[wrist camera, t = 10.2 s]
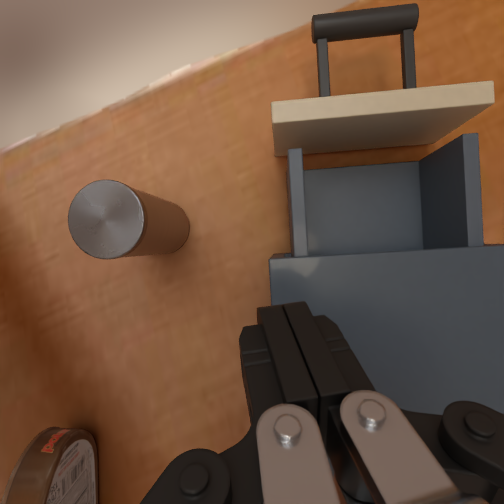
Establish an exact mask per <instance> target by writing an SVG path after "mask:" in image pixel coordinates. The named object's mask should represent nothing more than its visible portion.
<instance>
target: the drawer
mask: <svg viewBox="0 0 504 504" xmlns="http://www.w3.org/2000/svg"><path fill="white" fill-rule="evenodd" d="M418 18H419V8H418V5H417V4H416V3H413V4H405V5H396V6H388V7H379V8H370V9H362V10H353V11H345V12H336V13H327V14H319V15H313V17H312V42H313V43H314V44H315V43H317V44H316V49H317V66H318V83H319V97H317V98H307V99H296V100H286V101H276V102H271V115H272V129H273V140H274V151H275V156H276V157H277V156H287V172H286V176H287V193H288V210H289V226H290V243H291V257H298V256H316V255H333V254H350V253H367V252H384V251H401V250H419V249H436V248H453V247H470V246H484V241H483V221H482V201H481V181H480V161H479V141H478V133H471V134H462V135H461V136H459V137H458V138H456V139H454V140H453V141H451V142H449V143H448V144H446V145H444V146H443V147H441V148H439V149H438V150H436V151H434V152H433V153H431V154H430V155H428V156H426V157H425V158H423V159H421V160H420V161H412V162H400V163H387V164H374V165H362V166H349V167H336V168H324V169H311V170H303V154H313V153H325V152H337V151H349V150H361V149H373V148H385V147H397V146H410V145H422V144H433V143H435V142H437V141H438V140H440V139H441V138H443V137H444V136H446V135H447V134H449V133H450V132H452V131H453V130H455V129H456V128H458V127H459V126H461V125H462V124H464V123H465V122H467V121H468V120H470V119H471V118H473V117H474V116H476V115H477V114H479V113H480V112H482V111H483V110H485V109H486V108H488V107H489V106H491V105H492V104H494V82H493V81H483V82H473V83H463V84H452V85H442V86H431V87H421V88H416V70H415V51H414V31H415V29H416V27H417V23H418ZM398 34H401V35H400V42H401V60H402V79H403V89H400V90H390V91H380V92H369V93H359V94H348V95H338V96H330V80H329V62H328V45H327V42H334V41H343V40H352V39H361V38H370V37H380V36H389V35H398Z"/></svg>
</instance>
